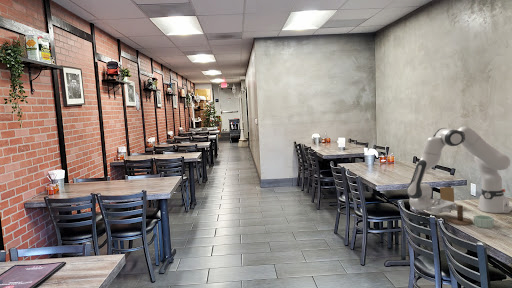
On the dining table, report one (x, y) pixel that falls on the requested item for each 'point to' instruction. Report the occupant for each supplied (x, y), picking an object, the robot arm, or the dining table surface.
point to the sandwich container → (447, 193)
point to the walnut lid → (460, 217)
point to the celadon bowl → (483, 221)
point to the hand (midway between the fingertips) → (454, 209)
